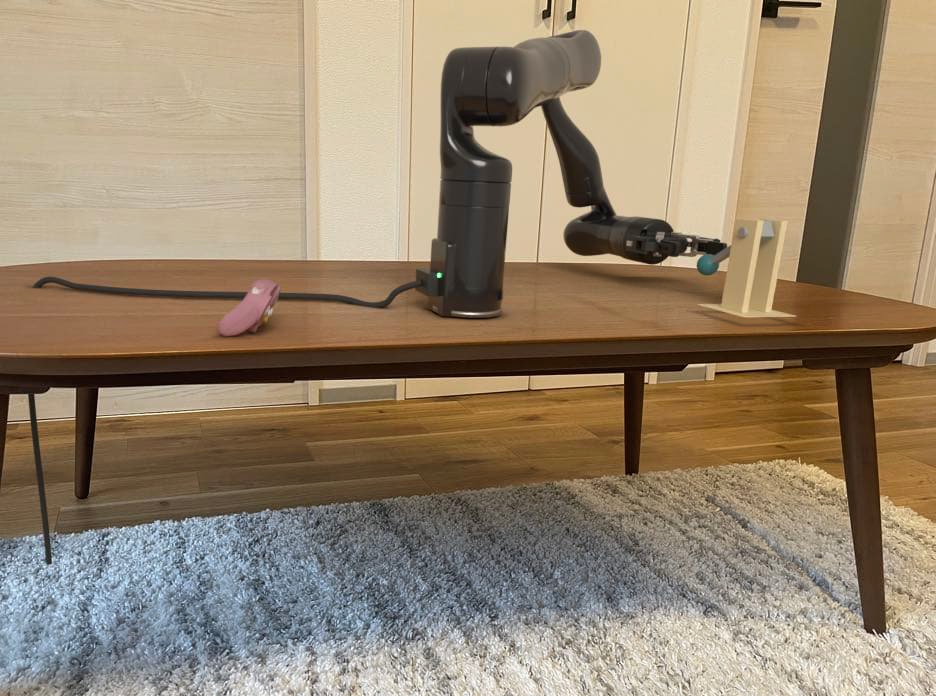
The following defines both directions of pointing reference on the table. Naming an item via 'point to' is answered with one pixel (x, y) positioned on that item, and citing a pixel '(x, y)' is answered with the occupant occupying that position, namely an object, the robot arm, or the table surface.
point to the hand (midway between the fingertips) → (701, 250)
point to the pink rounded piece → (251, 309)
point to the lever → (728, 252)
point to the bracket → (752, 270)
